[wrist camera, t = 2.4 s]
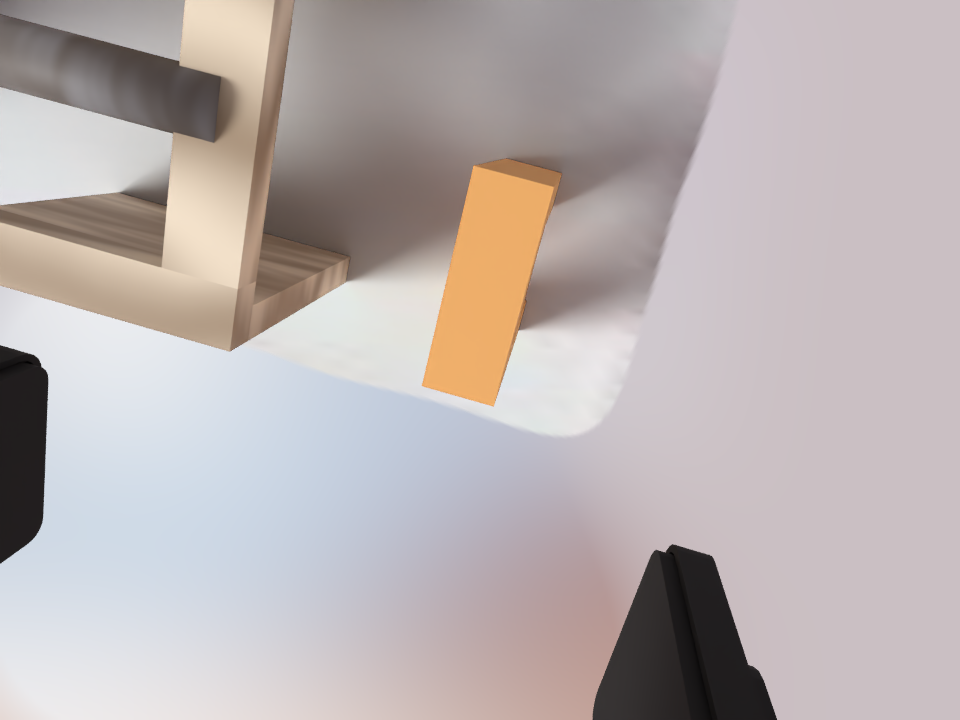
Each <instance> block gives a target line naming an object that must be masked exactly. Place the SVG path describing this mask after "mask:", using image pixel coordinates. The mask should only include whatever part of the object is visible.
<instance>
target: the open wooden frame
mask: <svg viewBox="0 0 960 720" xmlns="http://www.w3.org/2000/svg"><path fill="white" fill-rule="evenodd" d="M294 1H295V0H185V6H184V18H183V29H182V40H181V52H180V62H179V61H176V60H172V59H168V58H164V57H160V56H157V55H153V54H149V53H145V52H141V51H138V50H134V49H130V48H126V47H123V46H119V45H115V44H111V43H107V42H104V41H100V40H96V39H92V38H88V37H85V36H81V35H77V34H73V33H69V32H66V31H62V30H58V29H54V28H51V27H47V26H43V25H39V24H35V23H32V22H28V21H24V20H20V19H16V18H13V17H9V16H5V15H1V14H0V87H3V88H6V89H10V90H14V91H18V92H21V93H25V94H29V95H32V96H36V97H40V98H43V99H47V100H51V101H55V102H58V103H62V104H66V105H69V106H73V107H77V108H80V109H84V110H88V111H92V112H95V113H99V114H103V115H106V116H110V117H114V118H117V119H121V120H125V121H129V122H132V123H136V124H140V125H143V126H147V127H151V128H155V129H158V130H162V131H166V132H169V133H173V143H172V154H171V165H170V177H169V188H168V199H167V206H164V205H161V204H157V203H154V202H150V201H146V200H143V199H139V198H136V197H132V196H128V195H125V194H121V193H109V194H100V195H91V196H82V197H72V198H63V199H54V200H45V201H36V202H27V203H17V204H8V205H0V286H3V287H7V288H10V289H14V290H18V291H21V292H24V293H28V294H32V295H35V296H38V297H42V298H45V299H49V300H52V301H56V302H59V303H63V304H66V305H69V306H73V307H76V308H80V309H83V310H87V311H90V312H94V313H97V314H101V315H104V316H108V317H112V318H115V319H118V320H122V321H125V322H129V323H132V324H136V325H139V326H143V327H146V328H150V329H153V330H156V331H160V332H163V333H167V334H170V335H174V336H177V337H181V338H184V339H188V340H191V341H195V342H198V343H202V344H205V345H209V346H212V347H216V348H219V349H223V350H226V351H232V350H233V349H235V348H237V347H238V346H240V345H242V344H243V343H245V342H247V341H248V340H250V339H252V338H253V337H255V336H257V335H258V334H260V333H262V332H263V331H265V330H267V329H268V328H270V327H272V326H273V325H275V324H277V323H278V322H280V321H282V320H283V319H285V318H287V317H288V316H290V315H292V314H293V313H295V312H297V311H299V310H300V309H302V308H304V307H305V306H307V305H309V304H310V303H312V302H314V301H315V300H317V299H319V298H320V297H322V296H324V295H325V294H327V293H329V292H330V291H332V290H334V289H335V288H337V287H339V286H340V285H342V284H344V283H345V282H346V278H347V272H348V267H349V261H350V257H349V256H345V255H342V254H338V253H334V252H331V251H327V250H324V249H320V248H316V247H313V246H309V245H305V244H302V243H298V242H295V241H291V240H287V239H284V238H280V237H277V236H273V235H269V234H266V233H263V227H264V220H265V213H266V205H267V198H268V191H269V184H270V176H271V169H272V162H273V154H274V147H275V140H276V132H277V125H278V118H279V110H280V103H281V96H282V89H283V81H284V74H285V67H286V59H287V52H288V45H289V37H290V30H291V23H292V15H293V8H294Z"/></svg>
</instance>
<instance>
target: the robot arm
mask: <svg viewBox="0 0 960 720" xmlns="http://www.w3.org/2000/svg"><path fill="white" fill-rule="evenodd" d="M47 398H48V374H47V372H46V370H44V369H43V368H42V367H41V363H40V361H39V359H38V358H37V357H35V356H34V355H32V354H28V353H24V352H21V351H18V350H15V349H11V348H8V347H4V346H1V345H0V563H2V562H3V561H5V560H6V559H7V558H9V557H10V556H12V555H13V554H14V553H16V552H17V551H19V550H20V549H21V548H23V547H24V546H25V545H27V544H28V543H29V542H30V541H31V540H33V538H34V537H35V536H36V535H37V533H38V531H39V529H40V527H41V524H42V521H43V506H44V480H45V479H44V478H45V454H46V428H47V401H48V399H47ZM593 720H777V718H776V715H775V712H774V709H773V706H772V704H771V701H770V698H769V695H768V692H767V689H766V686H765V683H764V680H763V678H762V676H761V674H760V673H759V671H758V670H757V669H756V668H754V667H753V666H750V665H748V663H747V660H746V657H745V654H744V650H743V647H742V644H741V641H740V638H739V635H738V632H737V629H736V626H735V623H734V620H733V617H732V613H731V610H730V608H729V604H728V601H727V598H726V595H725V592H724V589H723V585H722V582H721V579H720V576H719V573H718V570H717V567H716V564H715V561H714V559H713V557H712V556H710V555H707V554H704V553H700V552H697V551H693V550H690V549H687V548H683V547H680V546H677V545H673V544H672V545H671V546H670V547H669V548H668V549H667V551H666V553H665V552H661V551H658V550H655V551H654V552H653V554H652V555H651V557H650V560H649V562H648V565H647V567H646V570H645V572H644V575H643V577H642V580H641V583H640V585H639V588H638V590H637V593H636V595H635V598H634V600H633V603H632V605H631V608H630V611H629V613H628V615H627V618H626V620H625V623H624V625H623V628H622V631H621V633H620V636H619V638H618V641H617V643H616V646H615V648H614V651H613V653H612V656H611V658H610V661H609V663H608V666H607V669H606V671H605V674H604V676H603V679H602V681H601V684H600V686H599V689H598V692H597V695H596V698H595V703H594V709H593Z"/></svg>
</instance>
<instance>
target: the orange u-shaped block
mask: <svg viewBox="0 0 960 720" xmlns="http://www.w3.org/2000/svg"><path fill="white" fill-rule="evenodd" d="M561 175H562V173H559V172H556V171H552V170H548V169H544V168H541V167H537V166H533V165H529V164H525V163H522V162H518V161H514V160H510V159H507V158H506V159H501V160H497V161H492V162H488V163H483V164H479V165H474V166H473V170H472V174H471V178H470V183H469V187H468V191H467V195H466V200H465V204H464V208H463V213H462V217H461V221H460V225H459V230H458V234H457V238H456V242H455V247H454V251H453V255H452V260H451V264H450V268H449V272H448V277H447V281H446V285H445V289H444V294H443V298H442V302H441V307H440V311H439V315H438V319H437V324H436V328H435V332H434V336H433V341H432V345H431V349H430V354H429V358H428V362H427V366H426V371H425V375H424V379H423V383H422V386H424V387H427V388H431V389H434V390H438V391H441V392H445V393H448V394H452V395H455V396H459V397H462V398H466V399H469V400H473V401H476V402H480V403H483V404H487V405H490V406H494V404H495V401H496V398H497V395H498V392H499V388H500V385H501V382H502V379H503V376H504V373H505V370H506V367H507V364H508V361H509V358H510V355H511V352H512V349H513V346H514V343H515V339H516V336H517V333H518V330H519V327H520V323H521V319H522V316H523V312H524V309H525V305H526V300H525V296H526V293H527V289H528V286H529V282H530V278H531V275H532V271H533V267H534V264H535V260H536V257H537V253H538V249H539V246H540V242H541V239H542V235H543V231H544V228H545V224H546V222H547V220H548V217H549V215H550V212H551V210H552V208H553V204H554V201H555V197H556V193H557V190H558V186H559V183H560V179H561Z"/></svg>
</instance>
